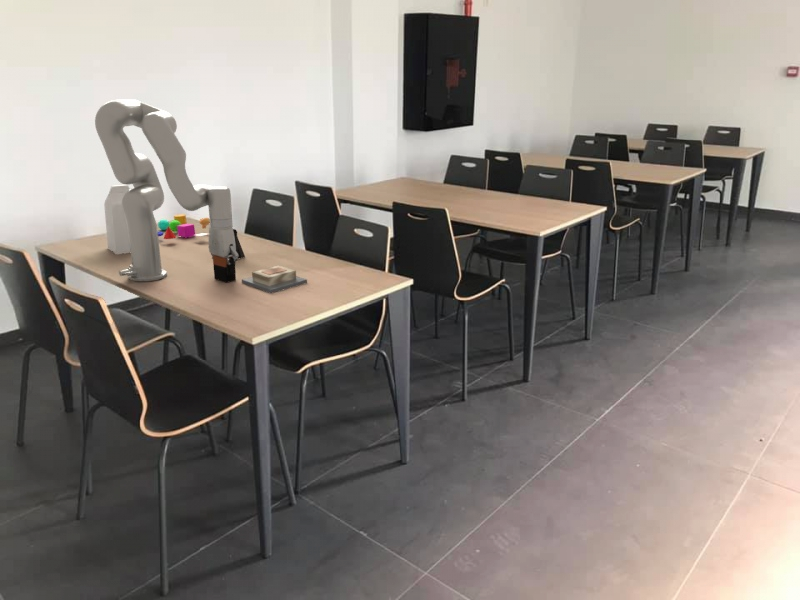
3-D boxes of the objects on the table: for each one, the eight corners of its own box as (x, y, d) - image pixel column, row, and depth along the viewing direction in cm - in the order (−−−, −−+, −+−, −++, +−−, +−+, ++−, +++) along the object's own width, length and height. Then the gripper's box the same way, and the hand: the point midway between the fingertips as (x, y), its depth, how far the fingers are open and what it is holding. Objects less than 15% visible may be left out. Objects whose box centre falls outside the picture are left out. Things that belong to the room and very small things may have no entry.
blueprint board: (270, 293, 210) (270, 289, 210) (241, 282, 220) (241, 279, 219) (307, 282, 222) (307, 279, 221) (278, 273, 231) (277, 270, 231)
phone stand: (226, 261, 244) (223, 231, 240) (216, 258, 248) (214, 228, 244) (245, 257, 250) (243, 227, 246) (235, 254, 254) (234, 225, 250)
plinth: (268, 286, 213) (268, 277, 212) (252, 280, 219) (252, 271, 218) (296, 278, 222) (295, 269, 221) (279, 273, 227) (279, 264, 226)
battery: (227, 283, 219) (225, 255, 216) (213, 279, 223) (211, 252, 219) (236, 280, 223) (234, 252, 219) (223, 276, 226) (221, 249, 223)
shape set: (184, 228, 301) (181, 213, 299) (232, 233, 281) (230, 217, 279) (128, 239, 278) (125, 223, 276) (177, 246, 259) (174, 228, 256)
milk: (116, 254, 250) (108, 189, 241) (107, 248, 258) (99, 184, 249) (147, 250, 257) (140, 186, 248) (137, 244, 265) (130, 182, 256)
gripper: (197, 220, 218) (201, 269, 224) (226, 228, 208) (230, 280, 214) (215, 217, 224) (219, 265, 230) (245, 225, 213) (248, 275, 219)
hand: (224, 272), depth 222 cm, fingers closed on battery, 7 cm apart
